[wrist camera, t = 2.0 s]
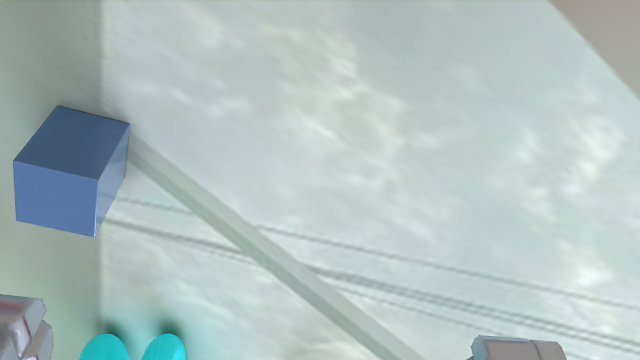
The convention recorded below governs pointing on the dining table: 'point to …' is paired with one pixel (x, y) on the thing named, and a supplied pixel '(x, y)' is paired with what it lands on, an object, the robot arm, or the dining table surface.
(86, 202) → the matte blue box
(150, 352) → the cyan rounded twin part
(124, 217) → the dining table surface
